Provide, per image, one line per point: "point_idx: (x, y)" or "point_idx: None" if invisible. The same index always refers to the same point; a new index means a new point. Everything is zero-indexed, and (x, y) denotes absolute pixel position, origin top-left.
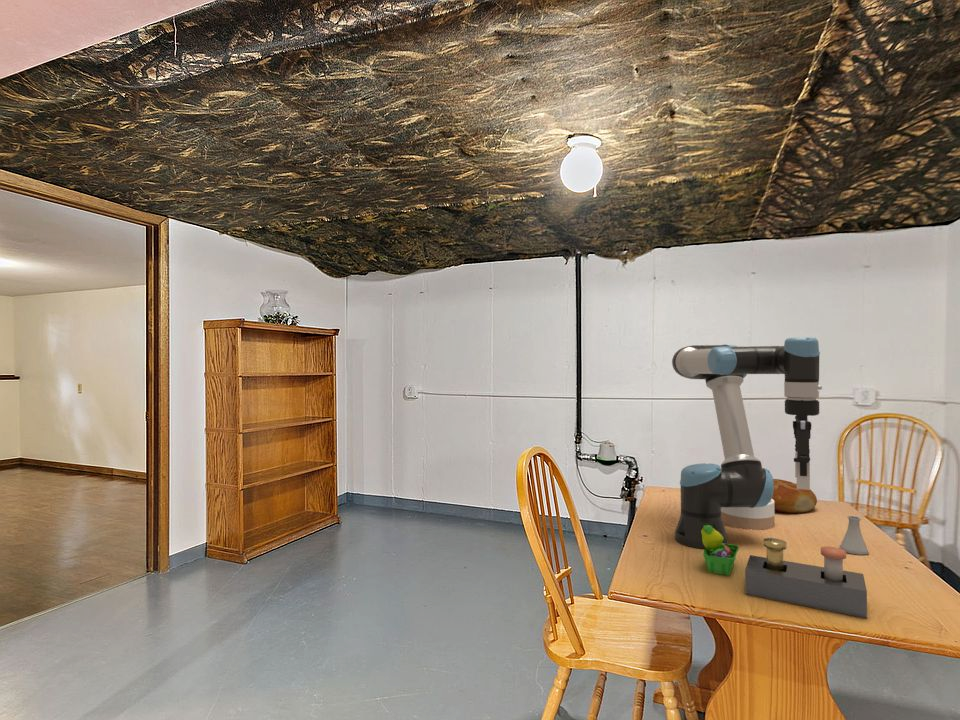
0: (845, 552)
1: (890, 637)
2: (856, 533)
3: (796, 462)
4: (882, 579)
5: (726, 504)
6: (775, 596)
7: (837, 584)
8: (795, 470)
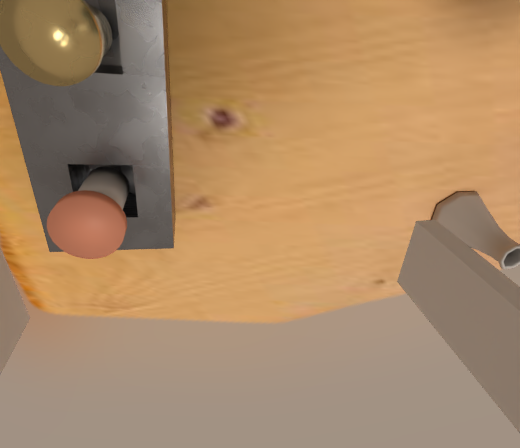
0: (87, 257)
1: (3, 248)
2: (472, 241)
3: (505, 308)
4: (304, 249)
5: None
6: None
7: (48, 199)
8: (451, 252)
